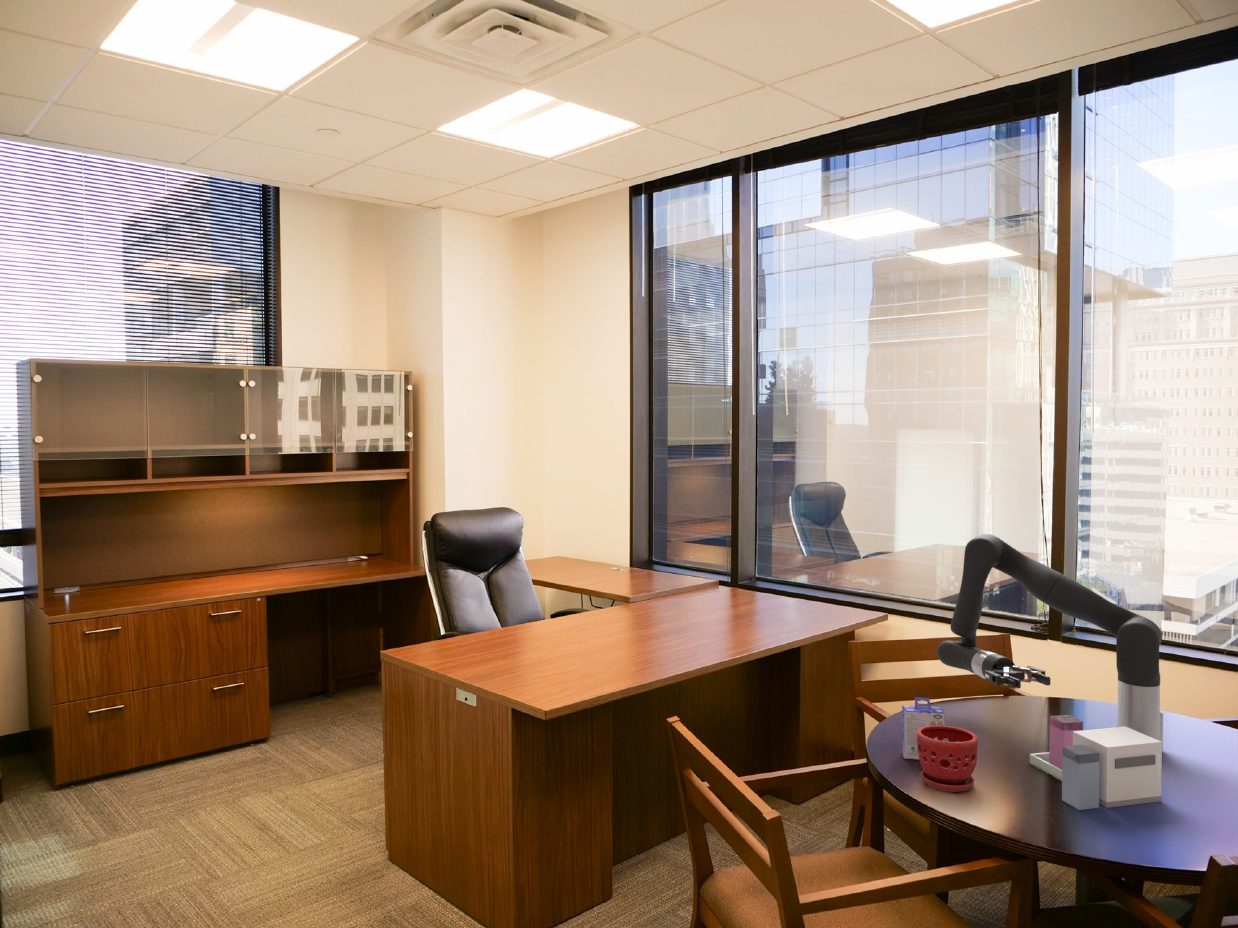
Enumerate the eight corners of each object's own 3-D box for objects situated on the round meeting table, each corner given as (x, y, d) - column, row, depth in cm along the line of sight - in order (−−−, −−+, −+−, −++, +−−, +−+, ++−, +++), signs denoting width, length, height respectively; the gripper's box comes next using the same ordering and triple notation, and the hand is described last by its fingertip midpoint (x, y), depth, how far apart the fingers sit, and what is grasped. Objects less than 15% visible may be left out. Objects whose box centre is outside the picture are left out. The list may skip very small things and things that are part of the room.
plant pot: (990, 789, 190) (990, 737, 190) (945, 799, 185) (946, 746, 185) (947, 768, 202) (947, 719, 202) (904, 777, 197) (904, 727, 197)
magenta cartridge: (1067, 763, 204) (1067, 714, 203) (1082, 771, 199) (1083, 721, 198) (1049, 765, 203) (1049, 716, 202) (1064, 773, 198) (1064, 722, 197)
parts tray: (1069, 759, 207) (1069, 749, 207) (1104, 777, 196) (1104, 767, 196) (1029, 763, 205) (1029, 753, 205) (1063, 782, 194) (1063, 771, 194)
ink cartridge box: (942, 753, 212) (942, 697, 212) (946, 762, 207) (946, 704, 206) (901, 751, 214) (901, 695, 214) (904, 759, 209) (904, 701, 208)
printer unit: (1121, 781, 194) (1122, 725, 194) (1162, 801, 183) (1163, 742, 183) (1069, 787, 191) (1070, 729, 191) (1108, 808, 180) (1108, 747, 180)
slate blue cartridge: (1081, 797, 186) (1081, 744, 185) (1098, 807, 181) (1099, 752, 180) (1062, 799, 185) (1062, 746, 184) (1078, 809, 180) (1079, 754, 179)
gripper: (969, 655, 225) (1009, 670, 210) (1015, 651, 228) (1058, 665, 212) (970, 683, 226) (1010, 700, 210) (1016, 678, 228) (1059, 695, 213)
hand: (1034, 682), depth 211 cm, fingers open, 8 cm apart
